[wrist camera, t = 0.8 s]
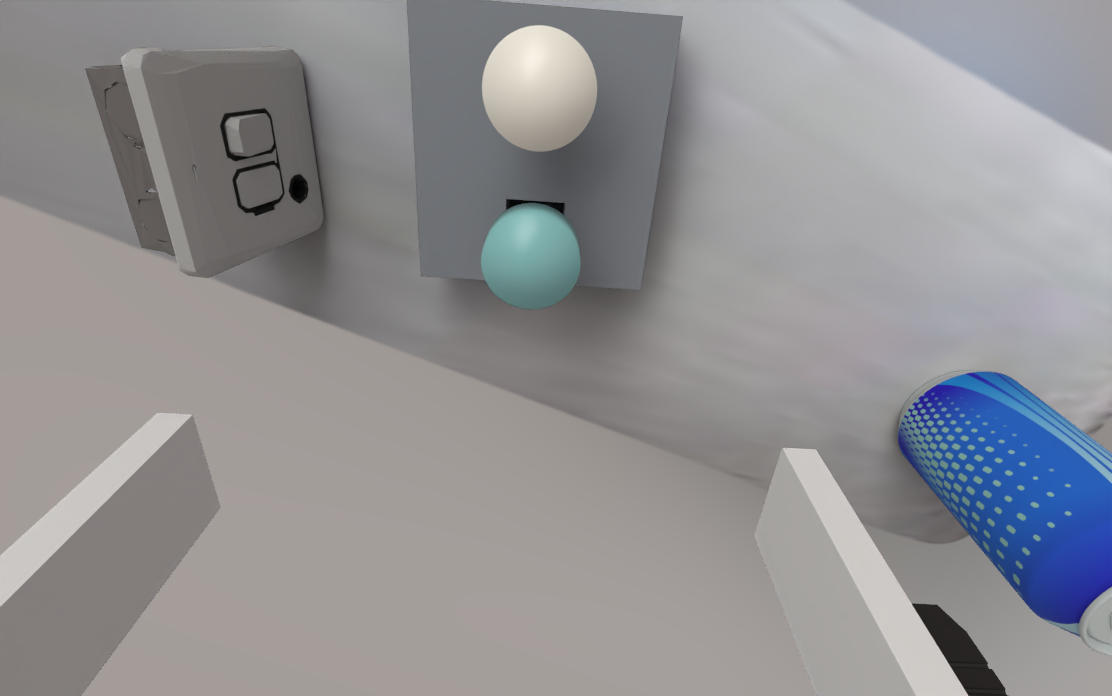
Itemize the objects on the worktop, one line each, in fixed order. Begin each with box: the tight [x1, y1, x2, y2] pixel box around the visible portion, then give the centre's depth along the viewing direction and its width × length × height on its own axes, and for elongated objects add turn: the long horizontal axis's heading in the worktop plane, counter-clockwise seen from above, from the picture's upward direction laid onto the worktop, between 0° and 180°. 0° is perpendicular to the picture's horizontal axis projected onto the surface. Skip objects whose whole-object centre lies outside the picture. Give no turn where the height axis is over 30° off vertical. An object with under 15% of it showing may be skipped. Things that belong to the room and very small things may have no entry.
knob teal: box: [481, 203, 581, 309], centre depth 27 cm, size 4×4×6 cm
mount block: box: [407, 0, 683, 290], centre depth 29 cm, size 13×12×4 cm
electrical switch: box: [86, 47, 324, 278], centre depth 27 cm, size 9×5×9 cm, turn 177°
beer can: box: [897, 371, 1112, 656], centre depth 33 cm, size 8×8×16 cm
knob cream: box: [482, 25, 597, 152], centre depth 24 cm, size 4×4×6 cm
